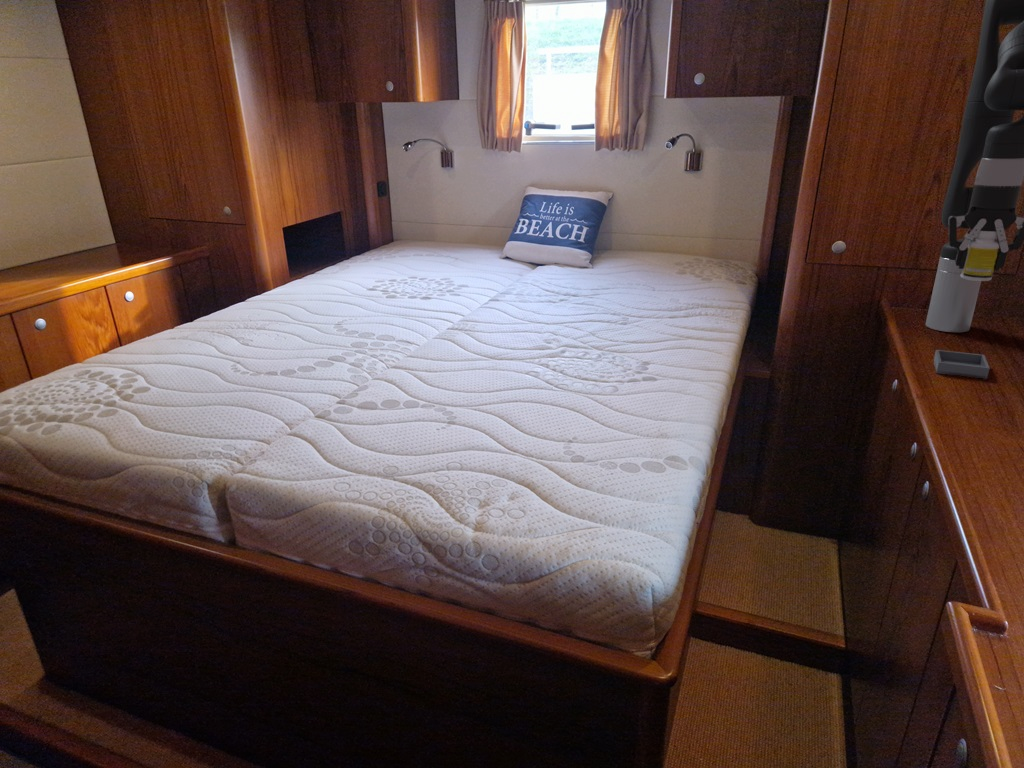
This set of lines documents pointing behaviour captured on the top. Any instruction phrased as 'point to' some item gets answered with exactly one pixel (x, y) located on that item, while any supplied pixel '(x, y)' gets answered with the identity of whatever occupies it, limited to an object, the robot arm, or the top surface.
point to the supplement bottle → (981, 257)
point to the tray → (961, 364)
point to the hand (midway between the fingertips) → (977, 268)
